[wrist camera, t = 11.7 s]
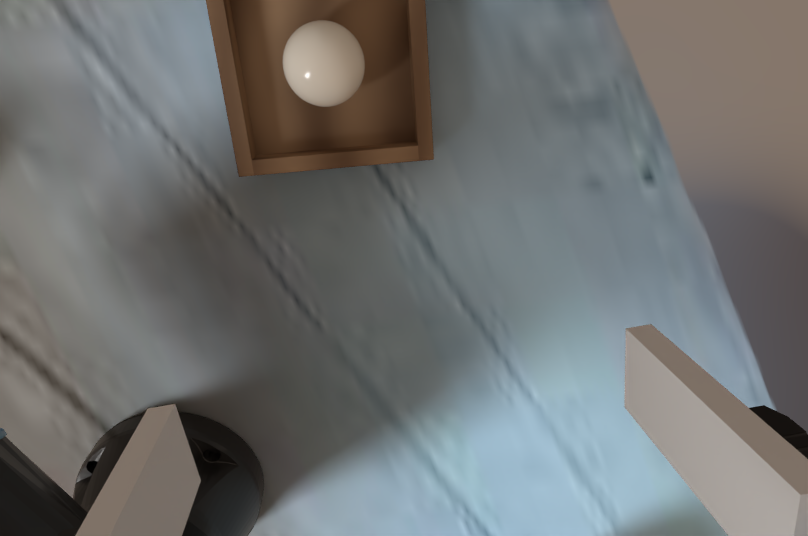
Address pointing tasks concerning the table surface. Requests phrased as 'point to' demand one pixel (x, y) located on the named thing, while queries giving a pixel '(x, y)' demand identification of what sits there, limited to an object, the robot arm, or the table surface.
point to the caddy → (313, 125)
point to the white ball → (323, 63)
